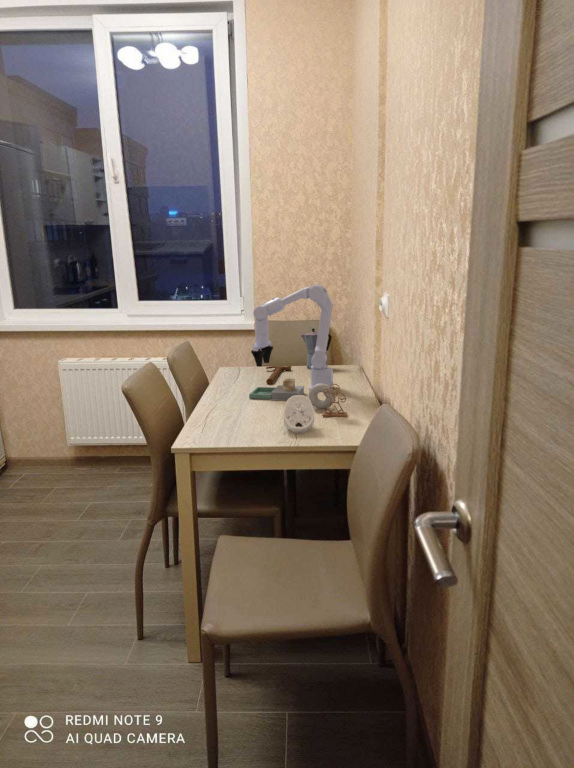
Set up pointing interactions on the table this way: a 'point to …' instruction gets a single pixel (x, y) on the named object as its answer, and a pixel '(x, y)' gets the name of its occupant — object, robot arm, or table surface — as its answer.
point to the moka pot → (312, 344)
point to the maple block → (289, 384)
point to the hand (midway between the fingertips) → (262, 364)
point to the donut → (314, 399)
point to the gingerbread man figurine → (332, 414)
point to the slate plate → (286, 392)
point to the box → (261, 393)
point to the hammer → (276, 373)
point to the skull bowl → (298, 413)
